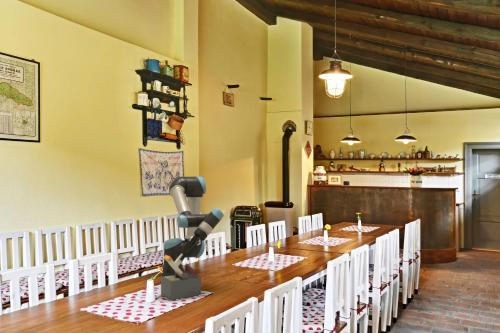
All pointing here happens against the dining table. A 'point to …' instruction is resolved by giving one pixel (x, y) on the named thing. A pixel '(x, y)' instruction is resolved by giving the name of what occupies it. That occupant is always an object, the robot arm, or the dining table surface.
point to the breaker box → (180, 286)
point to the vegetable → (189, 270)
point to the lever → (173, 265)
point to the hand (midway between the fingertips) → (175, 264)
